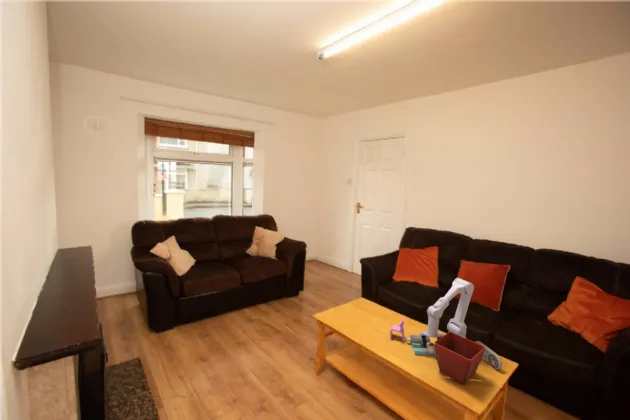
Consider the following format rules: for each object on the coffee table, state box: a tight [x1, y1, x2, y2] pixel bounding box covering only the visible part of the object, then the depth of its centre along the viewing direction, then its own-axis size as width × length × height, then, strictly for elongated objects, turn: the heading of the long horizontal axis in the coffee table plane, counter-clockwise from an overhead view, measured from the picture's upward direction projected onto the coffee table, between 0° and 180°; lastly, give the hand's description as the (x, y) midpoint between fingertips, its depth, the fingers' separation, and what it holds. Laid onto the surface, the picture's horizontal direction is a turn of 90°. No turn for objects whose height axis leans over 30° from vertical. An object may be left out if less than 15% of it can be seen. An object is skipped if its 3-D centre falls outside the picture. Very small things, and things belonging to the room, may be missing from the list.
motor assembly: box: [406, 334, 436, 358], centre depth 173 cm, size 17×15×6 cm
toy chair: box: [389, 317, 406, 342], centre depth 183 cm, size 8×9×15 cm
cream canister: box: [426, 341, 435, 355], centre depth 169 cm, size 5×5×6 cm
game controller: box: [474, 340, 503, 370], centre depth 164 cm, size 20×2×8 cm, turn 11°
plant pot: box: [433, 331, 485, 385], centre depth 152 cm, size 19×19×17 cm
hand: (430, 348), depth 169 cm, fingers open, 7 cm apart
